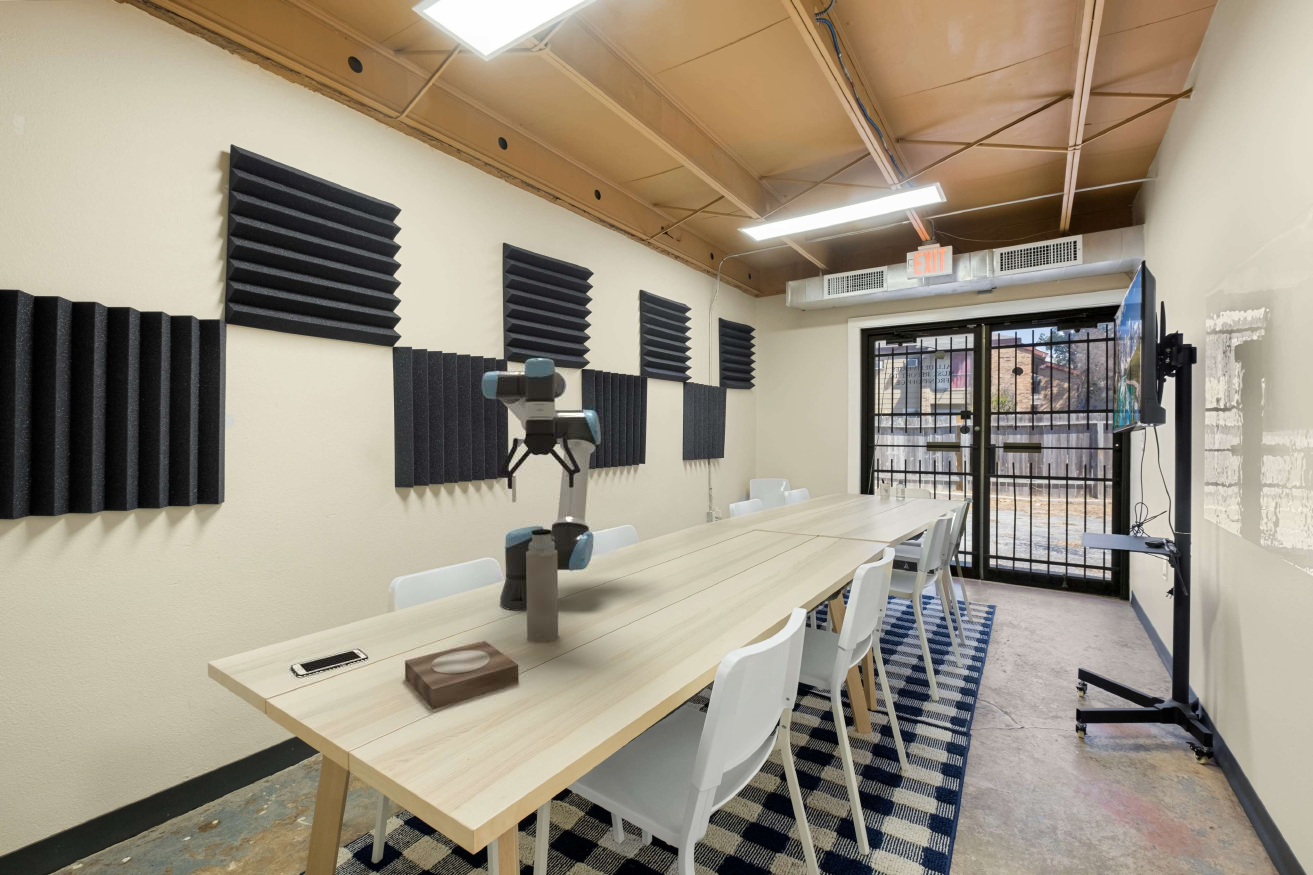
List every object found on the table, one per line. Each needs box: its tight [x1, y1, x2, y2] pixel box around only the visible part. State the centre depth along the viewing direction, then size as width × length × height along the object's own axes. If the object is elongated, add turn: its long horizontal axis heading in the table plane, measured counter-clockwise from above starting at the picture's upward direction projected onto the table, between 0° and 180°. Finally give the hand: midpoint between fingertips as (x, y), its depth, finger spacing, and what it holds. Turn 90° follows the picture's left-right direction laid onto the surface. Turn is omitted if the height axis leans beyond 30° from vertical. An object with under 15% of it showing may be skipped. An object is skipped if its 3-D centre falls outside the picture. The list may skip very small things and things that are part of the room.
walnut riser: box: [404, 640, 519, 710], centre depth 125 cm, size 18×18×4 cm
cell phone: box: [290, 648, 369, 676], centre depth 135 cm, size 8×15×1 cm, turn 135°
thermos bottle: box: [526, 528, 559, 644], centre depth 151 cm, size 8×8×28 cm
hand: (541, 501), depth 150 cm, fingers open, 13 cm apart
